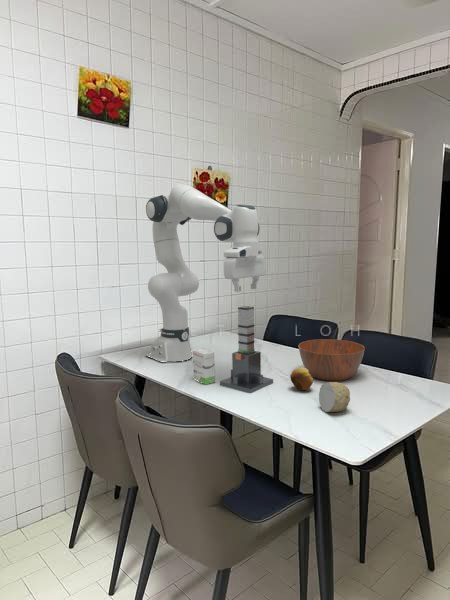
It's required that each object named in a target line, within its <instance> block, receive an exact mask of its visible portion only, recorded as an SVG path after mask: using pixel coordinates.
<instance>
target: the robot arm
mask: <svg viewBox="0 0 450 600" xmlns="http://www.w3.org/2000/svg"><path fill="white" fill-rule="evenodd" d="M145 212H146V216H147V218H148V220H150V221H151V222H152V240H153V245H154V247H153V248H154V250H155V251H154V252H155V257H156V260H157V262H158V264H160V265H162V266H163V267H164V268H165V269H166V271H167V272H164V273H158V274H156V275H153V276H151V277H150V278H149V279H148V283H147V290H148V292H149V294H150V295H151V297H153V298H154V299H155V300H156V301H157V303H158V305H159V307H160V309H161V314H162V315H161V316H162V328H159V331H158V332H161V333H160V335H159V337H158V338H156V339H155V340H154V341H153V342H152V343H151V345H150V352H147V353H146V354H145V356H146V355H147V356H150V357H152V358H154V359H157V360H159V361H182V360H187V359H190V358H191V357H192V358H193V351H192V349H191V343H190V338H189V336H190V327H189V321H188V320H189V319H188V310H187V308H186V307H185V306H183V305H181V303H180V300H179V297H183V296H189V295H192V294H194V293H195V292H197V291H198V289H199V285H200V281H199V277H198V275H196V274H195V273H194V271H191V269H190V268H189V266H188V265H187V264H186V262H185V260H184V257H183V255H182V250H181V246H180V239H179V235H178V230H177V228H178V225H181V226H183V225H185V224H186V223H187V222H189V221H190V220H192V219H193V220H197V221H214V225H213V233H214V235H215V238H216V239H217V240H218V241H220V242H224V243H227V242H228V243H230V242H231V243H233V244H232V246H231V247H229V248H227V249H226V250H224V251H223V257H224V260H223V276H224V278H225V280H231V283H232V285H233V288H234V290H233V291H234V292H236V293H237V292H241V291H242V286H240V279H247V278H252V283H250V289H251V290H257V288H258V283H259V281H260V277H261V276H262V277H263V276H266V271H267V270H266V260H265V257H264V252H262V251H261V250H259V240H258V236H259V234H260V224H259V215H258V211H257V208H256V207H255V206H253V205H250V204H249V205H248V204H236V205H235V206H234V207H233V209H232V208H230V207H229V206H226V205H224V204H222V203H219V202H218V201H216V200H215V199H213V198H211V197H210V196H208V195H206V194H205V193H203V192H201V191H200V190H198V189H197V188H195V187H193V186H191V185H188V184H185V183H178V184H175V185H174V186H173V187H172V188H171V190H170V193H169V195H168V196H167V195H163V194H161V195H157V196H154V197H153V196H152V197H151V198H149V199H148V200H147V202H146V205H145ZM149 353H151V354H149ZM190 360H191V359H190ZM187 361H188V360H187ZM182 362H183V361H182Z"/></svg>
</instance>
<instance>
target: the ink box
mask: <svg viewBox="0 0 450 600" xmlns="http://www.w3.org/2000/svg"><path fill="white" fill-rule="evenodd" d="M215 362H216V360H215V352H213V351H210V350H207V349H206V348H197V349H192V374H193V375H192V376H193V378H194V379H196V380H198V381H199V382H198V381H197V382H198V383H200V382H202V383H204V384H207V385H210V384H209V383H211V384H214V383H213V382H215V383H216V368H215V367H216V366H215V365H216V363H215ZM202 383H201V384H202ZM204 384H203V385H204Z"/></svg>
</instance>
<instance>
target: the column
mask: <svg viewBox="0 0 450 600" xmlns="http://www.w3.org/2000/svg"><path fill="white" fill-rule="evenodd" d="M237 310H238V311H237V317H238V318H237V319H238V322H237V327H238V333H237V336H238V349H237V351H238V352H239V353H240V354H244V355H250V354H253V353H254V351H255V311H254V310H255V307H254V306H246V305H243V306H238V307H237Z"/></svg>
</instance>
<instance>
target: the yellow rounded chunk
mask: <svg viewBox="0 0 450 600" xmlns="http://www.w3.org/2000/svg"><path fill="white" fill-rule="evenodd" d="M318 400H319V405H320V408H321V410H322V412H325V413H335V412H342V411H344V410H346V409H347V408H348V406H349V403H350V402H351V393H350V389H349V388H348V386H346V385H345V384H344V383H341V382H339V381H329V382H328V381H327V382H324V383H323V384H322V385H320V387H319V393H318Z"/></svg>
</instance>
